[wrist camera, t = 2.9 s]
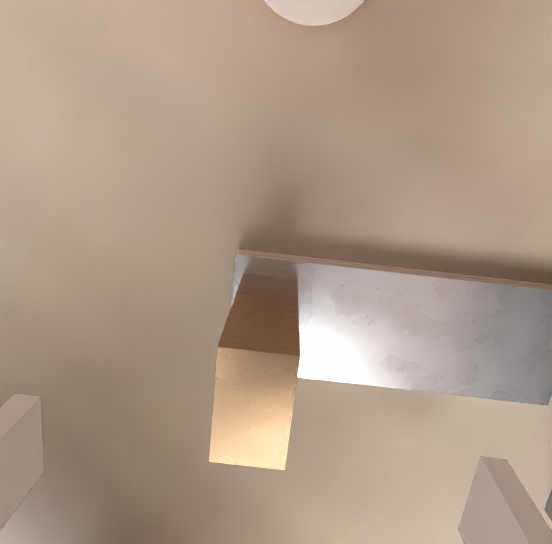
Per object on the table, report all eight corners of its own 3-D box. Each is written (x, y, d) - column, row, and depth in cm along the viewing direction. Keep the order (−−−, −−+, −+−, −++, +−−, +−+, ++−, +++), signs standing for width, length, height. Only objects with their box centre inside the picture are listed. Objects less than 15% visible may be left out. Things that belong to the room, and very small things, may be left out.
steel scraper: (229, 357, 28) (194, 481, 18) (238, 248, 26) (205, 319, 16) (534, 391, 28) (668, 534, 18) (568, 285, 26) (739, 380, 16)
